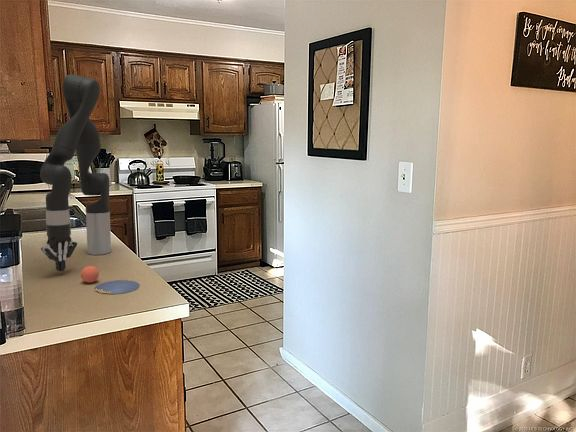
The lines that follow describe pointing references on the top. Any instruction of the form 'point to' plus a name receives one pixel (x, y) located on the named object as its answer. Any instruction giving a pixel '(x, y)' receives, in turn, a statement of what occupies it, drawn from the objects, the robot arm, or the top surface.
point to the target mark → (118, 286)
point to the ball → (89, 274)
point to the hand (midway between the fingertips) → (61, 270)
